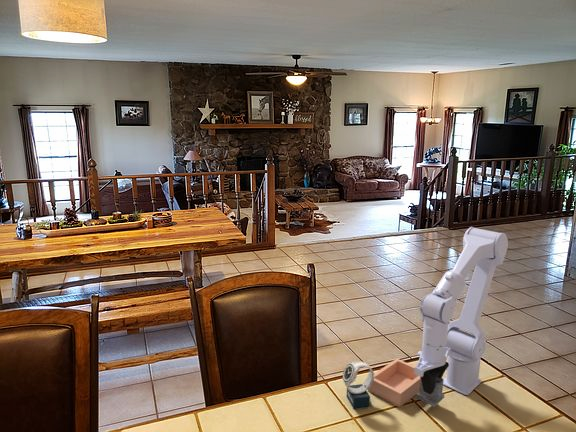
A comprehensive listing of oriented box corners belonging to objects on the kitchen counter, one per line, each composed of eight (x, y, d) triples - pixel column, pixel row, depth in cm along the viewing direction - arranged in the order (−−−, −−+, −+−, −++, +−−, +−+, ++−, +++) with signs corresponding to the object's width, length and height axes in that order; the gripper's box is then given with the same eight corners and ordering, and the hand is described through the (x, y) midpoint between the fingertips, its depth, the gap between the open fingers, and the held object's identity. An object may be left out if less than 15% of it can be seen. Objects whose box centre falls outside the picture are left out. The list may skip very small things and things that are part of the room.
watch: (339, 397, 119) (340, 359, 117) (368, 393, 121) (369, 356, 119) (346, 410, 114) (347, 371, 112) (376, 406, 116) (378, 368, 113)
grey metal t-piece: (426, 389, 119) (427, 369, 117) (444, 397, 115) (445, 377, 114) (416, 397, 115) (417, 376, 114) (434, 406, 112) (436, 385, 110)
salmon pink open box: (396, 370, 132) (396, 358, 131) (427, 385, 125) (428, 372, 124) (367, 390, 122) (368, 377, 121) (399, 407, 115) (400, 393, 114)
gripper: (434, 326, 119) (430, 372, 122) (404, 345, 110) (401, 395, 113) (459, 335, 114) (455, 383, 118) (431, 356, 105) (427, 407, 108)
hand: (430, 389), depth 115 cm, fingers closed on grey metal t-piece, 2 cm apart
